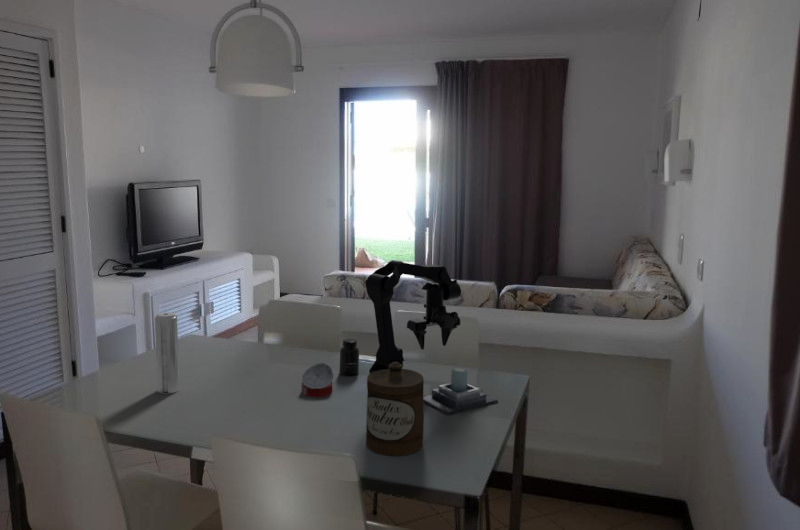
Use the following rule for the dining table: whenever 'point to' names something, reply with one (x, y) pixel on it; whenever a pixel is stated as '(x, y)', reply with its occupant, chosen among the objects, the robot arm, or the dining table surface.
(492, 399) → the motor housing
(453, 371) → the cylinder
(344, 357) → the supplement bottle
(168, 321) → the silver metal cylinder
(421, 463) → the dining table surface
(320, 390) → the canned food
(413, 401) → the wooden container
